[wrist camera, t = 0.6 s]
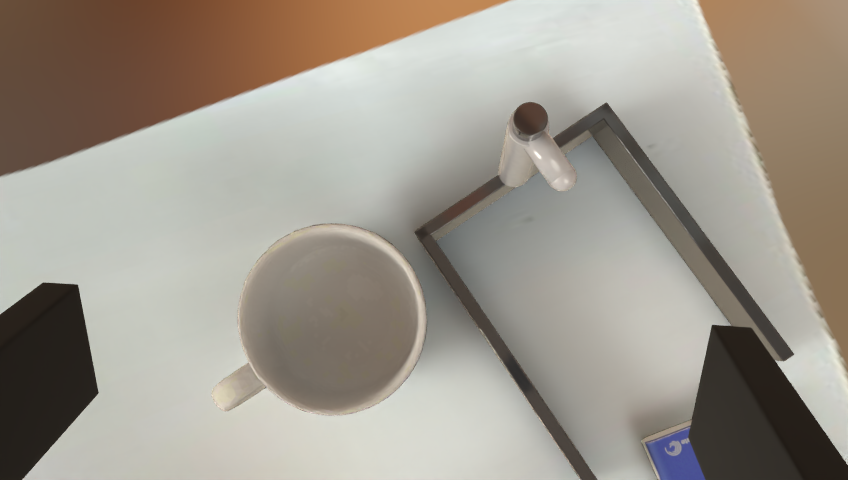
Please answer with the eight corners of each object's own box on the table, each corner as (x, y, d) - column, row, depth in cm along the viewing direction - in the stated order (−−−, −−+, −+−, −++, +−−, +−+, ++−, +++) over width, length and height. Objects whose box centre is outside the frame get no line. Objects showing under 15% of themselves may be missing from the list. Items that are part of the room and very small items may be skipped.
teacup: (393, 214, 47) (377, 191, 39) (459, 360, 46) (458, 367, 38) (208, 299, 47) (156, 294, 39) (269, 447, 46) (228, 473, 38)
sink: (765, 351, 45) (917, 365, 30) (579, 478, 44) (637, 558, 29) (589, 113, 47) (647, 14, 32) (413, 232, 47) (388, 188, 32)
